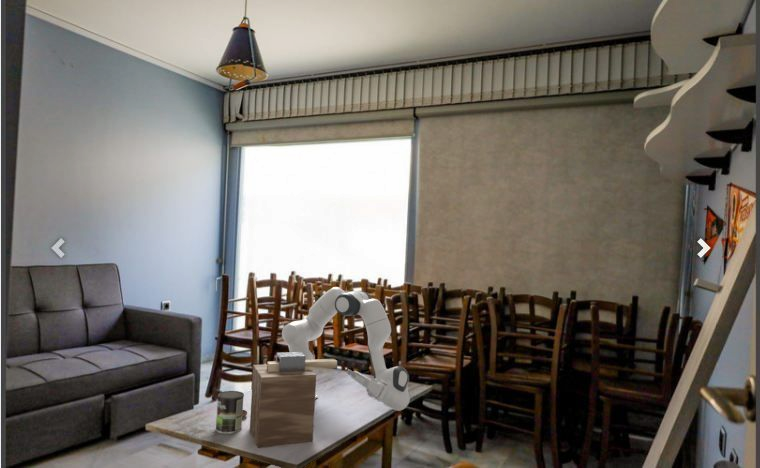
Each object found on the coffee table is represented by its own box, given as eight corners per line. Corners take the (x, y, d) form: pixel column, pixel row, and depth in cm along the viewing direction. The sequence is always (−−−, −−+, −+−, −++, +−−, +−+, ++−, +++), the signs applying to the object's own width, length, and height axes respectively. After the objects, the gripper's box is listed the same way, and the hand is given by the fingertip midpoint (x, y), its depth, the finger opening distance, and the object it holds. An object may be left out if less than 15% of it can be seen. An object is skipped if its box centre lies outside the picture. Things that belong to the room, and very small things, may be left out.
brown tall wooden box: (249, 429, 203) (253, 365, 203) (300, 424, 211) (303, 362, 212) (257, 448, 184) (261, 377, 185) (312, 442, 192) (316, 374, 193)
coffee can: (223, 436, 194) (225, 399, 194) (211, 428, 201) (213, 393, 202) (246, 430, 201) (248, 395, 202) (234, 423, 209) (236, 389, 209)
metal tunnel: (275, 367, 201) (276, 352, 201) (300, 366, 205) (300, 351, 205) (279, 372, 194) (280, 356, 194) (304, 371, 198) (305, 355, 198)
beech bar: (266, 369, 198) (267, 361, 198) (333, 365, 208) (334, 358, 209) (268, 371, 194) (269, 363, 194) (336, 368, 205) (337, 360, 205)
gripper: (371, 375, 224) (346, 361, 220) (390, 387, 205) (363, 372, 201) (364, 388, 223) (339, 374, 218) (382, 401, 204) (356, 386, 199)
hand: (351, 373), depth 209 cm, fingers open, 8 cm apart
